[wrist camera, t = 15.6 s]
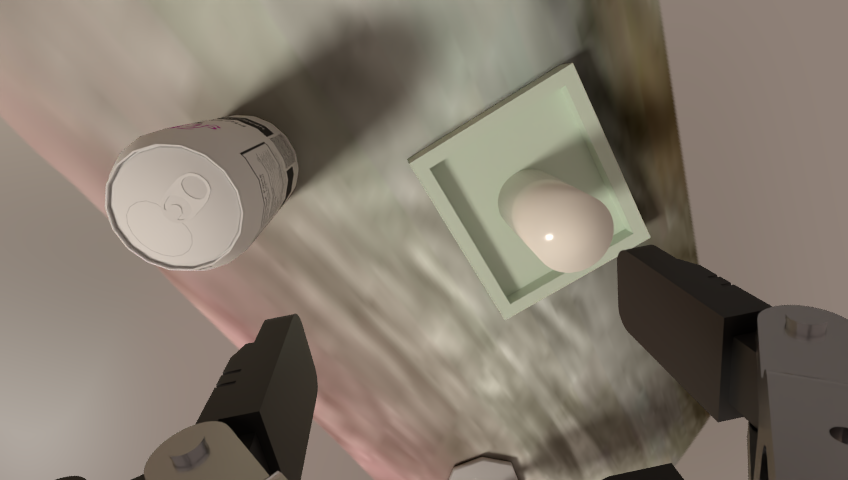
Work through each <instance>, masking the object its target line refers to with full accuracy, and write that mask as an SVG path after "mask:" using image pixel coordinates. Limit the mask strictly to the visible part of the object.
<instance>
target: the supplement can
mask: <svg viewBox="0 0 848 480" xmlns="http://www.w3.org/2000/svg"><path fill="white" fill-rule="evenodd" d="M298 171H299V167H298V162H297V157H296V152H295V150H294V148H293V147H292V145H291V143H290V142H289V140H288V138H287V137H286V135H285V134H283V133H282V132H281V131H280V130H279V129H278V128H276V127H275V126H274V125H273V124H272V123H270V122H267V121H265V120H262V119H260V118H258V117H255V116H244V115H233V116H228V117H223V118H218V119H213V120H207V121H202V122H197V123H192V124H187V125H182V126H177V127H172V128H166V129H163V130H159V131H156V132H153V133H150V134H147V135H143V136H140V137H139V138H137V139H136V140H135V141H134V142H133V143H131V144H130V145H129V146H128V147H127V148H125V149H124V150H123V151H122V152H121V153H120V154H119V156H118V158H117V161H116V163H115V165H114V167H113V169H112V171H111V173H110V175H109V180H108V182H107V184H106V192H105V209H106V212H107V215H108V218H109V221H110V224H111V227H112V229H113V231H114V232H115V233H116V235H117V236H118V237H119V239H120V240H121V241H122V242H123V244H124V245H125V246H126V248H127V249H129V250H130V251H131V252H133V253H134V254H136V255H137V256H139V257H140V258H141V259H143V260H144V261H146V262H147V263H150V264H153V265H156V266H159V267H162V268H165V269H168V270H185V271H194V270H195V271H206V270H210V269H213V268H216V267H219V266H223V265H226V264H229V263H230V262H232V261H233V260H234V259H235V258H237V257H238V256H239V255H241V254H242V253H243V252H245V251H246V250H247V249H248V248H249V247H250V245H251V244H252V243H253V242H254V240H255V239H256V238H257V237H258V236H259V234H260V233H261V232H262V231H263V229H264V228H265V227H266V226H267V225H268V223H269V222H270V221H271V220H272V218H273V217H274V216H275V215H276V213H277V212H278V211H279V210H280V209H281V207H282V206H283V205H284V204H285V202H286V201H287V200H288V198H289V197H290V195H291V193H292V192H293V190H294V188H295V187H296V184H297V177H298Z"/></svg>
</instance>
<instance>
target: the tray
mask: <svg viewBox="0 0 848 480" xmlns="http://www.w3.org/2000/svg"><path fill="white" fill-rule="evenodd" d="M407 160H408V162H409V164H410V166H411V168H412V169H413V171H414V173H415V174H416V176H417V178H418V179H419V181H420V182H421V184H422V186H423V187H424V189H425V191H426V192H427V194H428V196H429V197H430V199H431V200H432V202H433V204H434V205H435V207H436V209H437V210H438V212H439V214H440V215H441V217H442V218H443V220H444V222H445V223H446V225H447V227H448V228H449V230H450V232H451V233H452V235H453V236H454V238H455V240H456V241H457V243H458V245H459V246H460V248H461V250H462V251H463V253H464V254H465V256H466V258H467V259H468V261H469V263H470V264H471V266H472V268H473V269H474V271H475V273H476V274H477V276H478V277H479V279H480V281H481V282H482V284H483V286H484V287H485V289H486V291H487V292H488V294H489V295H490V297H491V299H492V300H493V302H494V304H495V305H496V307H497V309H498V310H499V312H500V313H501V315H502V317H503V318H504V320H507V319H508V318H510V317H512V316H514V315H515V314H517V313H519V312H521V311H522V310H524V309H526V308H528V307H529V306H531V305H533V304H535V303H537V302H538V301H540V300H542V299H544V298H545V297H547V296H549V295H551V294H552V293H554V292H556V291H558V290H559V289H561V288H563V287H565V286H566V285H568V284H570V283H572V282H573V281H575V280H577V279H579V278H580V277H582V276H584V275H586V274H587V273H589V272H591V271H593V270H594V269H596V268H598V267H600V266H601V265H603V264H605V263H607V262H608V261H610V260H612V259H614V258H616V257H617V256H618V254H619V252H620V251H622V250H626V249H631V248H633V247H635V246H637V245H638V244H640V243H642V242H644V241H645V240H647V239H649V238H651V237H650V235H649V233H648V231H647V228H646V226H645V224H644V222H643V219H642V217H641V215H640V213H639V210H638V208H637V206H636V204H635V201H634V199H633V197H632V195H631V192H630V190H629V188H628V186H627V183H626V181H625V179H624V177H623V174H622V172H621V170H620V168H619V165H618V163H617V161H616V159H615V157H614V154H613V152H612V150H611V148H610V145H609V143H608V141H607V139H606V136H605V134H604V132H603V130H602V127H601V125H600V123H599V121H598V118H597V116H596V114H595V112H594V109H593V107H592V105H591V103H590V100H589V98H588V96H587V94H586V91H585V89H584V87H583V85H582V82H581V80H580V78H579V76H578V73H577V71H576V69H575V67H574V64H573V63H568V64H561V65H559V66H558V67H556V68H554V69H553V70H551V71H549V72H548V73H546V74H545V75H543V76H541V77H540V78H538V79H536V80H535V81H533V82H532V83H530V84H528V85H527V86H525V87H524V88H522V89H520V90H519V91H517V92H515V93H514V94H512V95H511V96H509V97H507V98H506V99H504V100H502V101H501V102H499V103H498V104H496V105H494V106H493V107H491V108H490V109H488V110H486V111H485V112H483V113H481V114H480V115H478V116H477V117H475V118H473V119H472V120H470V121H468V122H467V123H465V124H464V125H462V126H460V127H459V128H457V129H456V130H454V131H452V132H451V133H449V134H447V135H446V136H444V137H443V138H441V139H439V140H438V141H436V142H434V143H433V144H431V145H430V146H428V147H426V148H425V149H423V150H422V151H420V152H418V153H417V154H415V155H413V156H412V157H410V158H409V159H407ZM525 169H538V170H542V171H544V172H546V173H548V174H550V175H552V176H554V177H556V178H558V179H560V180H562V181H563V182H565V183H567V184H569V185H571V186H573V187H575V188H577V189H579V190H581V191H583V192H585V193H587V194H589V195H591V196H593V197H594V198H596V199H598V200H600V201H601V202H602V203H603V204H604V205H605V206H606V207H607V208H608V210H609V211H610V213H611V216H612V219H613V224H614V233H613V238H612V242H611V244H610V246H609V248H608V250H607V252H606V253H605V254H604V256H603V257H602V258H601V259H600V260H599V261H598V262H597V263H595V264H594V265H592V266H591V267H589V268H587V269H585V270H582V271H579V272H573V273H564V272H558V271H555V270H553V269H551V268H549V267H548V266H546V265H545V264H544V263H543V262H542V261H541V260H540V259H539V258H538V257H537V256H536V254H535V253H534V252H533V251H532V250H531V249H530V248H529V247H528V246H527V245H526V244H525V243H524V242H523V240H522V239H521V238H520V237H519V236H518V235H517V234H516V233H515V232H514V231H513V230H512V229H511V228H510V226H509V225H508V224H507V223H506V222H505V221H504V220H503V218H502V217H501V215H500V212H499V209H498V197H499V193H500V190H501V188H502V186H503V185H504V183H505V182H506V181H507V179H509V178H510V177H511V176H512V175H513V174H515V173H517V172H519V171H522V170H525Z"/></svg>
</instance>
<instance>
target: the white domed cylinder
mask: <svg viewBox="0 0 848 480" xmlns="http://www.w3.org/2000/svg"><path fill="white" fill-rule="evenodd" d="M498 209H499V212H500V215H501V217H502V218H503V220H504V221H505V222H506V223H507V224H508V225H509V226H510V228H511V229H512V230H513V231H514V232H515V233H516V234H517V235H518V236H519V237H520V238H521V239H522V240H523V242H524V243H525V244H526V245H527V246H528V247H529V248H530V249H531V250H532V251H533V252H534V253H535V254H536V256H537V257H538V258H539V259H540V260H541V261H542V262H543V263H544V264H545V265H546V266H548V267H549V268H551V269H553V270H555V271H558V272H564V273H573V272H579V271H582V270H585V269H587V268H589V267H591V266H592V265H594V264H595V263H597V262H598V261H599V260H600V259H601V258H602V257H603V256H604V254H605V253H606V252H607V250H608V248H609V246H610V244H611V242H612V238H613V233H614V224H613V219H612V216H611V213H610V211H609V210H608V208H607V207H606V206H605V205H604V204H603V203H602V202H601V201H600V200H598V199H596V198H594V197H593V196H591V195H589V194H587V193H585V192H583V191H581V190H579V189H577V188H575V187H573V186H571V185H569V184H567V183H565V182H563V181H562V180H560V179H558V178H556V177H554V176H552V175H550V174H548V173H546V172H544V171H542V170H538V169H525V170H522V171H519V172H517V173H515V174H513V175H512V176H511V177H510V178H509V179H507V181H506V182H505V183H504V185H503V186H502V188H501V190H500V193H499V197H498Z"/></svg>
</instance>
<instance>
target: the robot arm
mask: <svg viewBox="0 0 848 480" xmlns="http://www.w3.org/2000/svg"><path fill="white" fill-rule="evenodd" d="M617 274H618V307H619V314H620V317H621V320H622V323H623V325H624V327H625V328H626V330H627V331H628V332H629V333H630V334H631V335H632V336H633V337H634V338H635V339H636V340H637V341H638V342H639V343H640V344H641V345H642V346H643V347H644V348H645V349H646V350H647V351H648V352H649V353H650V354H651V355H652V356H653V357H654V358H655V359H656V360H657V361H658V362H659V363H660V365H661V366H662V367H663V368H664V369H665V370H666V371H667V372H668V373H669V374H670V375H671V376H672V377H673V378H674V379H675V380H676V381H677V382H678V383H679V384H680V385H681V386H682V387H683V388H684V389H685V390H686V391H687V392H688V393H689V394H690V395H691V396H692V397H693V398H694V399H695V400H696V401H697V402H698V403H699V404H700V405H701V406H702V407H703V408H704V409H705V410H706V411H707V412H708V413H709V414H710V415H711V416H712V417H713V418H714V419H715V420H716V421H717V422H721V421H726V420H731V419H735V418H740V417H745V418H746V419H747V420H748V421H749V422H748V433H747V449H748V480H848V319H846V318H844V317H842V316H840V315H837V314H835V313H833V312H829V311H827V310H823V309H819V308H814V307H809V306H800V305H781V306H774V307H772V306H770V305H769V304H767V303H765V302H763V301H762V300H760V299H758V298H756V297H755V296H753V295H751V294H749V293H748V292H746V291H744V290H742V289H741V288H739V287H737V286H735V285H731V283H730V282H728V281H727V280H725V279H723V278H721V277H717V275H716V274H714V273H712V272H711V271H709V270H708V269H706V268H704V267H702V266H701V265H697V264H694V263H690V262H687V261H683V260H680V259H676V258H675V257H673V256H671V255H670V254H668V253H666V252H665V251H663V250H661V249H660V248H658V247H656V246H654V245H647V246H642V247H637V248H631V249H626V250H622V251H620V252H619V254H618V258H617ZM317 390H318V385H317V375H316V370H315V366H314V363H313V359H312V356H311V352H310V349H309V346H308V342H307V339H306V336H305V332H304V329H303V325H302V322H301V320H300V318H299V316H298V315H297V314H293V315H288V316H283V317H277V318H272V319H267V320H265V321H264V323H263V325H262V327H261V329H260V331H259V333H258V335H257V337H256V340H255V342H254V343H248V344H245V345H244V346H243V347H242V348H241V349H240V350H239V351H238V352H237V353H236V354H234V355H233V356H232V357H231V358H230V360H229V362H228V364H227V366H226V368H225V370H224V372H223V375H222V376H221V377H220V379H219V381H218V383H217V388H214V390H213V392H212V394H211V396H210V398H209V400H208V402H207V403H206V405H205V407H204V409H203V411H202V413H201V415H200V417H199V419H198V420H197V422H196V424H195V425H193V426H190V427H188V428H185V429H183V430H182V431H180V432H178V433H176V434H174V435H173V436H171V437H170V438H169V439H167V440H166V441H164V442H163V443H162V444H161V445H160V446H159V447H158V448H157V449H156V450H155V451H154V452H153V453H152V455H151V456H150V457H149V459H148V461H147V462H146V465H145V468H144V474H143V475H141V476H139V477H136V478H134V479H132V480H301V475H302V470H303V465H304V460H305V454H306V449H307V444H308V439H309V434H310V428H311V423H312V418H313V413H314V408H315V403H316V398H317ZM56 480H86V479H85V478H83V477H79V476H69V477H63V478H60V479H56ZM603 480H684V479H683V478H682V476H681V475H680V474H679V473H678V471H677V470H676V469H675V467H674V466H673V465H672V463H670V464H665V465H660V466H655V467H651V468H646V469H641V470H637V471H632V472H627V473H623V474H618V475H613V476H609V477H607V478H605V479H603Z"/></svg>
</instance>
